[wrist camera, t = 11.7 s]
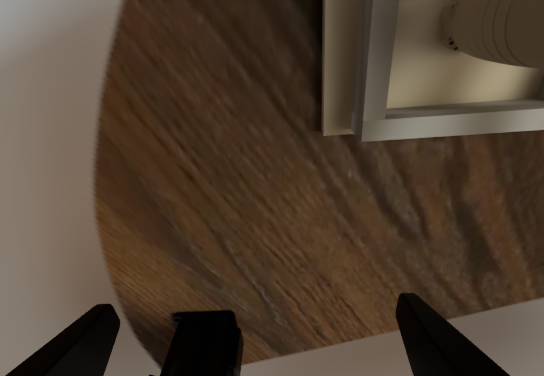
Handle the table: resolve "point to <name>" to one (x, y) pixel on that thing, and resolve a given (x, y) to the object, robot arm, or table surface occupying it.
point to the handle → (496, 30)
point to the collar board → (415, 77)
